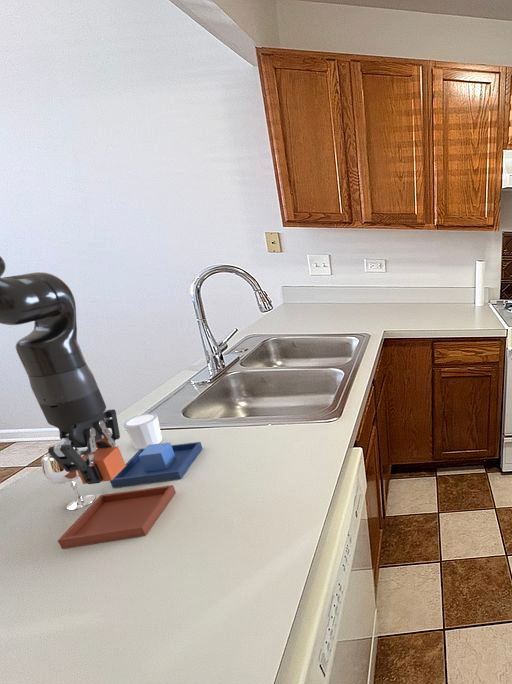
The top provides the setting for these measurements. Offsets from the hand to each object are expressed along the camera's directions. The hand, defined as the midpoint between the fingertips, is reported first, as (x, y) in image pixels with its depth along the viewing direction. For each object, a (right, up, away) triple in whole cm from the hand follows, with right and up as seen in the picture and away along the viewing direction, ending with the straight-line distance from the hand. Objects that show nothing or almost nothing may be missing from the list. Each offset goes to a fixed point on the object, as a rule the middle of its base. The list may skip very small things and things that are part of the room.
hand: (104, 473), depth 74 cm
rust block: (0, 0, 0) cm, 0 cm away
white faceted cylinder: (-15, 0, +28) cm, 32 cm away
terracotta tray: (0, -10, +4) cm, 11 cm away
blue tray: (-5, -4, +19) cm, 20 cm away
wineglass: (-13, -9, +8) cm, 17 cm away
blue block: (-5, -3, +19) cm, 20 cm away
